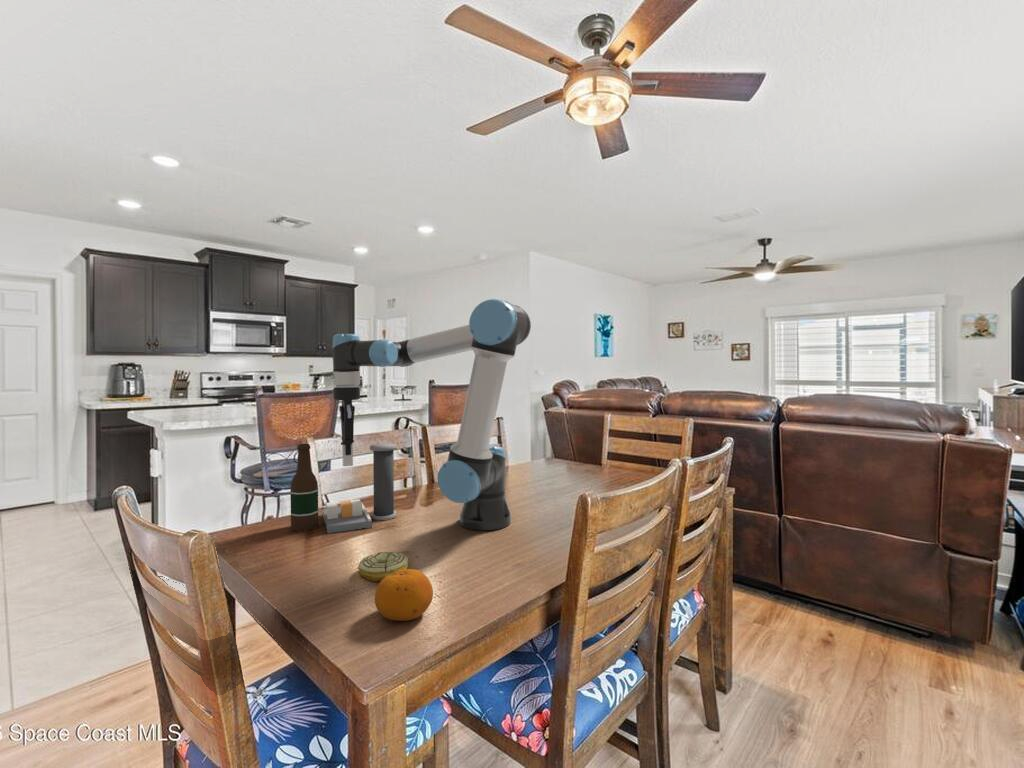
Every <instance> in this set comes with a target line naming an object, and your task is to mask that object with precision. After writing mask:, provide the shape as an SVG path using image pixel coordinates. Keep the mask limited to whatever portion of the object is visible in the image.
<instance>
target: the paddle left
mask: <svg viewBox="0 0 1024 768" xmlns="http://www.w3.org/2000/svg"><path fill="white" fill-rule="evenodd" d="M325 505H326V506H325V508H326V515H327V518H328V519H334V518H338V507H339V505H338V502H337V501H332V502H326V503H325Z"/></svg>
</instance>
